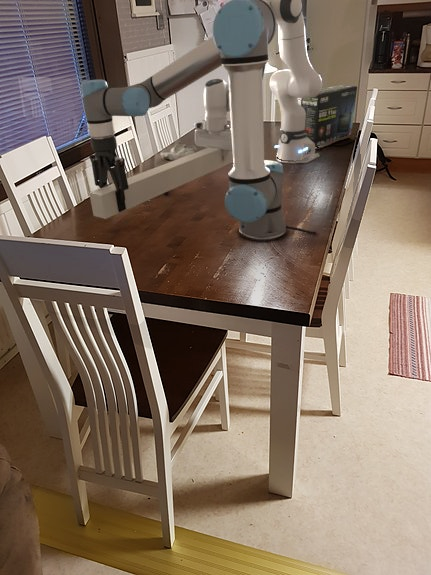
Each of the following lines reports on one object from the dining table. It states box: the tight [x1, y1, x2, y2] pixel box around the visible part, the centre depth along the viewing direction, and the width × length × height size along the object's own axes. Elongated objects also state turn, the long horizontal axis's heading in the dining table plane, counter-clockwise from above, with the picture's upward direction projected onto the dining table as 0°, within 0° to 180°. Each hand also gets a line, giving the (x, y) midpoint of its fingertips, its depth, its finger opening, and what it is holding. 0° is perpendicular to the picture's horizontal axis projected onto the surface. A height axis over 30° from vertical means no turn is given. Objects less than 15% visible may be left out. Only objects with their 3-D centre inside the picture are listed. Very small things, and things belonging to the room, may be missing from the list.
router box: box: [300, 84, 358, 146], centre depth 238 cm, size 36×11×27 cm, turn 134°
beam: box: [88, 147, 233, 220], centre depth 168 cm, size 72×6×8 cm, turn 144°
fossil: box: [160, 142, 199, 161], centre depth 229 cm, size 18×11×15 cm
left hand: (115, 208), depth 150 cm, fingers closed on beam, 6 cm apart
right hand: (217, 159), depth 189 cm, fingers closed on beam, 5 cm apart
